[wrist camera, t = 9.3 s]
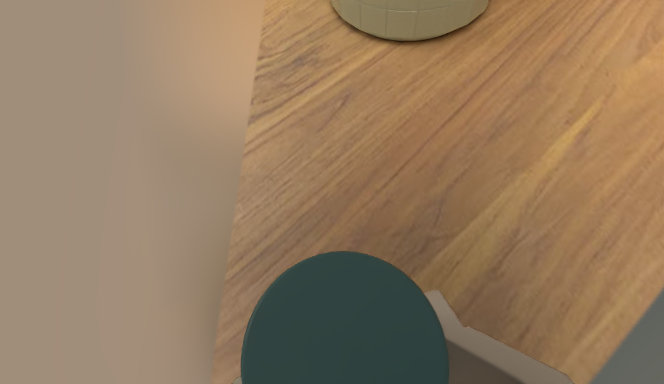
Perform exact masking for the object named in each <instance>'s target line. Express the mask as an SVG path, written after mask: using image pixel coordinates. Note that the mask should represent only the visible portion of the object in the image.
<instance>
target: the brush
mask: <svg viewBox="0 0 664 384" xmlns="http://www.w3.org/2000/svg"><path fill="white" fill-rule="evenodd" d="M449 372H450V370H449V354H448V349H447V343H446V339H445V335H444V332H443V329H442V325H441V323H440V321H439V318H438V316H437V314H436V312H435V310H434V308H433V306H432V305H431V303H430V301H429V300H428V298H427V297H426V296H425V294H424V293H423V292H422V290H421V289H420V288H419V287H418V286H417V285H416V283H415V282H414V281H413V280H412V279H411V278H410V277H409V276H407V275H406V274H405V273H403V272H402V271H401V270H400V269H398V268H396V267H395V266H393V265H392V264H390V263H388V262H386V261H384V260H382V259H380V258H377V257H374V256H371V255H368V254H364V253H359V252H351V251H336V252H328V253H323V254H318V255H315V256H312V257H309V258H307V259H305V260H303V261H301V262H299V263H297V264H295V265H294V266H292V267H291V268H289V269H287V270H286V271H285V272H284V273H283V274H281V275H280V276H279V277H278V278H277V279H276V280H275V281H274V282H273V283H272V284H271V285H270V286H269V287H268V289H267V290H266V291H265V293H264V294H263V295H262V297H261V298H260V300H259V302H258V303H257V305H256V307H255V308H254V311H253V313H252V315H251V317H250V320H249V322H248V325H247V329H246V332H245V335H244V340H243V346H242V354H241V381H242V384H449Z"/></svg>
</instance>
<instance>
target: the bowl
mask: <svg viewBox="0 0 664 384" xmlns="http://www.w3.org/2000/svg"><path fill="white" fill-rule="evenodd" d="M489 2H490V0H331V4H332V6H333V7H334V8H335V10H336V11H337V12H338V14H339V15H340V16H341V18H342V19H343V20H345V21H346V22H348V23H350V24H351V25H353V26H354V27H356V28H357V29H359V30H361V31H363V32H365V33H367V34H370V35H373V36H376V37H379V38H383V39H389V40H397V41H416V40H425V39H430V38H435V37H438V36H441V35H444V34H447V33H449V32H451V31H454V30H455V29H458V28H460V27H463V26H465V25H467V24H469V23H470V22H471V21H472V20H474V19H475V18H476V17H477V16H479V15H480V14H481V13H482V12H484V11H485V10H486V8H487V6H488V4H489Z"/></svg>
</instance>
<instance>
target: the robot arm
mask: <svg viewBox="0 0 664 384" xmlns="http://www.w3.org/2000/svg"><path fill="white" fill-rule="evenodd" d="M424 294H425V296H426V297H427V298H428V300H429V301H430V303H431V305H432V306H433V308H434V310H435V312H436V314H437V316H438V318H439V321H440V323H441V325H442V329H443V332H444V335H445V339H446V343H447V349H448V354H449V370H450V372H449V384H574V383H573V382H572V380H571V379H570V378H569V377H568V376H567V375H566V374H564V373H562V372H560V371H558V370H556V369H554V368H552V367H550V366H548V365H546V364H544V363H542V362H540V361H538V360H536V359H534V358H532V357H530V356H528V355H526V354H524V353H522V352H520V351H518V350H516V349H514V348H512V347H510V346H508V345H506V344H504V343H502V342H500V341H498V340H496V339H494V338H492V337H490V336H488V335H486V334H484V333H482V332H480V331H478V330H476V329H474V328H472V327H465V328H464V326H463V325H462V323H461V322H460V320H459V319H458V317H457V316H456V314H455V313H454V311H453V309H452V308H451V306H450V305H449V303H448V302H447V300H446V299H445V297H444V296H443V294H442V293H441V291H440V290H438V289H436V290H432V291H428V292H424ZM232 384H242V381H241V377H237V378H236V379H235V380H234V382H233V383H232Z"/></svg>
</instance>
